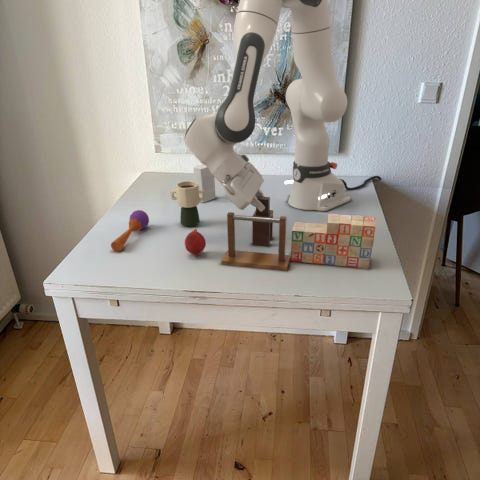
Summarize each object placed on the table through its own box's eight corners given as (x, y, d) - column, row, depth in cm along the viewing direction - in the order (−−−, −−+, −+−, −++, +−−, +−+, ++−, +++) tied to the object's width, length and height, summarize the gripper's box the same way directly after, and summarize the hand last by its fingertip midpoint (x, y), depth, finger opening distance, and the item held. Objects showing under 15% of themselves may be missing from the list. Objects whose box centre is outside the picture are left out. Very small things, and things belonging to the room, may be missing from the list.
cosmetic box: (208, 195, 179) (206, 162, 172) (215, 198, 176) (214, 165, 170) (195, 200, 175) (193, 166, 169) (203, 203, 173) (201, 169, 166)
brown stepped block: (256, 237, 148) (256, 194, 141) (272, 238, 147) (273, 195, 139) (252, 245, 144) (252, 200, 136) (269, 246, 143) (269, 202, 135)
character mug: (208, 220, 160) (206, 181, 153) (205, 228, 154) (202, 188, 147) (176, 219, 161) (172, 180, 154) (171, 228, 155) (167, 187, 148)
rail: (221, 264, 134) (219, 217, 126) (228, 253, 139) (226, 208, 132) (286, 270, 130) (288, 223, 122) (290, 259, 136) (292, 213, 128)
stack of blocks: (289, 261, 134) (291, 219, 127) (293, 252, 139) (295, 210, 132) (369, 269, 130) (375, 225, 123) (369, 258, 135) (375, 216, 128)
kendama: (103, 238, 140) (131, 208, 155) (111, 256, 143) (137, 225, 158) (121, 236, 138) (148, 206, 153) (129, 254, 141) (154, 223, 156)
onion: (198, 261, 135) (196, 235, 131) (181, 256, 138) (179, 230, 133) (210, 253, 139) (208, 227, 135) (194, 249, 142) (192, 223, 137)
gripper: (228, 174, 126) (265, 213, 129) (246, 153, 142) (279, 188, 145) (213, 190, 129) (249, 228, 132) (232, 167, 145) (264, 201, 149)
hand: (265, 206), depth 139 cm, fingers closed on brown stepped block, 2 cm apart
